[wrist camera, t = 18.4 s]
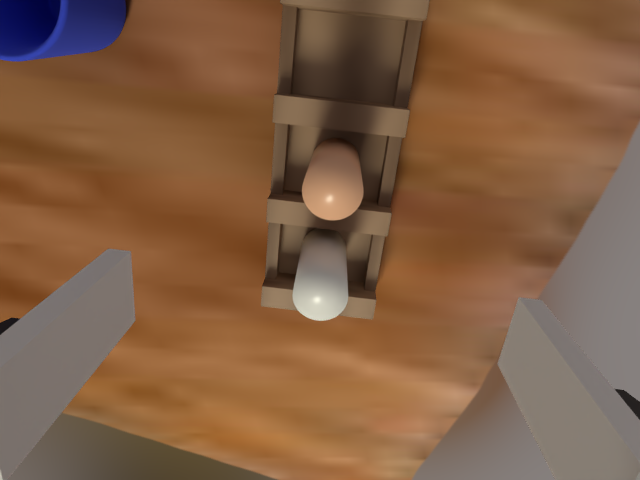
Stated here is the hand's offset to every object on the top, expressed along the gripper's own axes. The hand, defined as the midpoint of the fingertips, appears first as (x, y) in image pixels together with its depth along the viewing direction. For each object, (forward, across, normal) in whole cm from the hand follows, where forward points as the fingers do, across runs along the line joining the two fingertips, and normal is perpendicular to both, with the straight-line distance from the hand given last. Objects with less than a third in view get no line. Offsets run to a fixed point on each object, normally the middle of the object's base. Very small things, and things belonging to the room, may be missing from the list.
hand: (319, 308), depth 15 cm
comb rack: (+25, 0, 0) cm, 25 cm away
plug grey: (+24, 0, -8) cm, 25 cm away
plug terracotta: (+24, 0, 0) cm, 24 cm away
